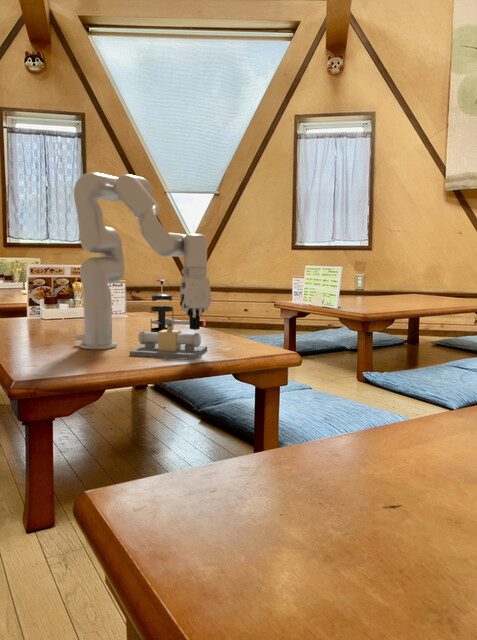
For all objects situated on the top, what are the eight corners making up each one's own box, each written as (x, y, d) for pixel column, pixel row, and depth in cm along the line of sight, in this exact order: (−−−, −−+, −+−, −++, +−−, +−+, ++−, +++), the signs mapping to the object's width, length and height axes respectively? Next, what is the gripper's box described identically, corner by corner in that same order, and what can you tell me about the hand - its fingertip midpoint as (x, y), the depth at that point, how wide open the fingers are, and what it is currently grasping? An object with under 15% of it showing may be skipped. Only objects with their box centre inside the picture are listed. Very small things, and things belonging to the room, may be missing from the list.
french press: (175, 339, 206) (175, 280, 203) (151, 339, 204) (150, 280, 201) (171, 334, 218) (171, 278, 215) (148, 334, 215) (148, 278, 212)
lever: (164, 325, 176) (164, 319, 175) (166, 324, 178) (166, 318, 178) (203, 326, 173) (203, 320, 173) (205, 325, 176) (205, 319, 176)
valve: (129, 355, 172) (129, 327, 171) (147, 347, 188) (147, 321, 187) (194, 359, 168) (194, 330, 167) (207, 350, 184) (207, 324, 182)
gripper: (184, 273, 162) (184, 332, 164) (219, 273, 172) (219, 328, 175) (169, 272, 167) (169, 330, 169) (204, 272, 177) (203, 325, 180)
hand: (194, 329), depth 172 cm, fingers closed
